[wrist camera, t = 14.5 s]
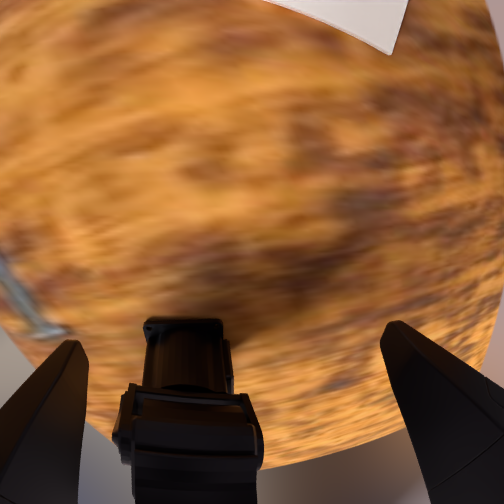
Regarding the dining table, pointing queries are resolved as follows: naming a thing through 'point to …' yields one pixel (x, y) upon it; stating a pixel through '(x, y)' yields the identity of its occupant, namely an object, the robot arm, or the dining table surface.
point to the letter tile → (356, 18)
